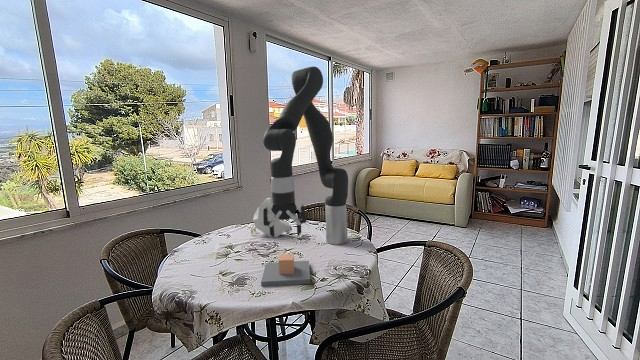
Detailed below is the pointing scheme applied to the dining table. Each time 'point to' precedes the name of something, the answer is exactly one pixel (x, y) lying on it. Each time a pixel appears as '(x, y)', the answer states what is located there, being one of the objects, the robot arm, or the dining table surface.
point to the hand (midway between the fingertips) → (285, 235)
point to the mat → (274, 278)
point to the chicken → (259, 221)
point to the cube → (286, 264)
